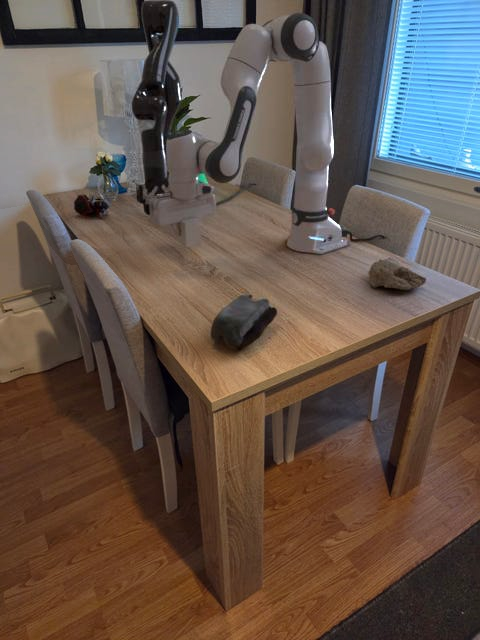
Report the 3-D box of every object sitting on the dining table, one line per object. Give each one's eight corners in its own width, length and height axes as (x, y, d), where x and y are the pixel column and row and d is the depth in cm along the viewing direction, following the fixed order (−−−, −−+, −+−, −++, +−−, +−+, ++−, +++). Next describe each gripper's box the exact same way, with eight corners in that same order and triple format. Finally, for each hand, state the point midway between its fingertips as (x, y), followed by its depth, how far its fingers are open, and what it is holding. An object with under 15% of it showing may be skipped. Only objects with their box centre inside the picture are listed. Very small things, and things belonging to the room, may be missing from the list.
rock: (246, 362, 102) (246, 333, 98) (204, 348, 107) (203, 320, 103) (278, 325, 116) (280, 298, 112) (240, 314, 121) (241, 288, 116)
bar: (149, 222, 157) (146, 200, 153) (162, 219, 159) (160, 197, 155) (186, 247, 137) (184, 222, 133) (201, 243, 140) (199, 219, 136)
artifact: (387, 301, 128) (428, 294, 133) (394, 279, 124) (436, 272, 129) (353, 270, 142) (391, 265, 147) (358, 249, 138) (397, 245, 142)
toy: (101, 187, 180) (72, 186, 186) (93, 207, 178) (64, 205, 183) (117, 205, 191) (89, 203, 196) (109, 223, 188) (82, 221, 194)
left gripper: (139, 168, 138) (144, 219, 147) (179, 163, 145) (183, 211, 154) (129, 164, 143) (135, 213, 152) (169, 158, 150) (173, 205, 159)
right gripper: (156, 197, 126) (161, 243, 133) (218, 186, 135) (219, 229, 143) (147, 192, 130) (152, 237, 137) (207, 181, 140) (209, 224, 147)
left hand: (159, 212), depth 153 cm, fingers open, 8 cm apart
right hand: (187, 233), depth 140 cm, fingers closed on bar, 5 cm apart
